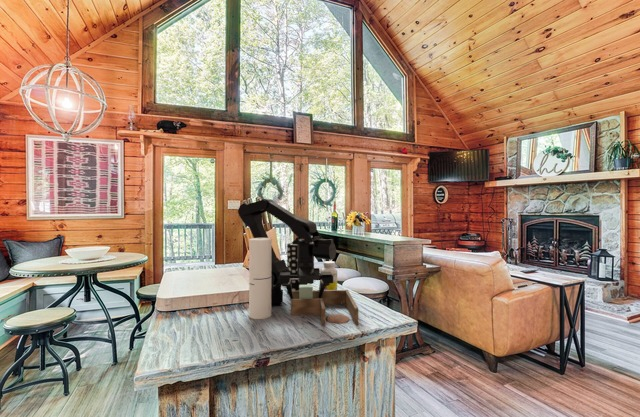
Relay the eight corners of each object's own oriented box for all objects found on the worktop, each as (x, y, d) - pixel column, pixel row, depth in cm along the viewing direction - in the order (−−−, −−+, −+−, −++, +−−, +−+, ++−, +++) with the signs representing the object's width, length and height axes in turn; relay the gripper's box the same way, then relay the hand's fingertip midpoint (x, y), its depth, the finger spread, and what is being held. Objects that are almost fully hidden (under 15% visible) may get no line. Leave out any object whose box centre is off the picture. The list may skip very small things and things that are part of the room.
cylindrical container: (266, 319, 99) (266, 240, 98) (245, 318, 100) (245, 239, 100) (274, 312, 106) (274, 238, 105) (254, 310, 107) (254, 237, 107)
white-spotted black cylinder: (283, 294, 127) (284, 244, 127) (291, 289, 135) (291, 242, 135) (303, 296, 125) (303, 245, 124) (310, 290, 132) (310, 243, 132)
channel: (290, 326, 94) (290, 309, 94) (291, 304, 114) (291, 290, 114) (358, 324, 95) (358, 308, 95) (347, 303, 116) (347, 289, 115)
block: (299, 311, 107) (299, 288, 106) (299, 307, 111) (299, 284, 111) (312, 311, 107) (312, 287, 107) (311, 307, 111) (312, 284, 111)
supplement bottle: (318, 292, 130) (318, 261, 130) (332, 290, 133) (333, 260, 133) (325, 296, 124) (325, 264, 124) (340, 294, 127) (340, 262, 127)
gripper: (277, 262, 100) (277, 310, 100) (335, 261, 101) (335, 309, 102) (279, 256, 111) (279, 300, 111) (331, 255, 113) (331, 299, 113)
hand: (305, 302), depth 109 cm, fingers open, 9 cm apart
